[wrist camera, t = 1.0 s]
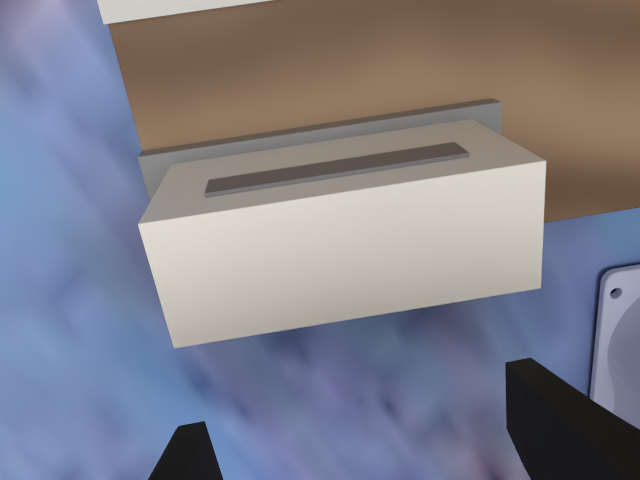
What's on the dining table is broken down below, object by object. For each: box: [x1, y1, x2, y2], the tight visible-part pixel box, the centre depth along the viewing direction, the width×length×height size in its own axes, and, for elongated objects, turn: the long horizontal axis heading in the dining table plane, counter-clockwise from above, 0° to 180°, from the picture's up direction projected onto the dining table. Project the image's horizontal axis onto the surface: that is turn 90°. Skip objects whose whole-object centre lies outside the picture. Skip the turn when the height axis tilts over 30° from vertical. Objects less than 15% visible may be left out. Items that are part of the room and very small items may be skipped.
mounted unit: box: [138, 98, 546, 348], centre depth 17 cm, size 5×12×6 cm, turn 97°
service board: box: [108, 0, 640, 223], centre depth 18 cm, size 15×23×1 cm, turn 97°
